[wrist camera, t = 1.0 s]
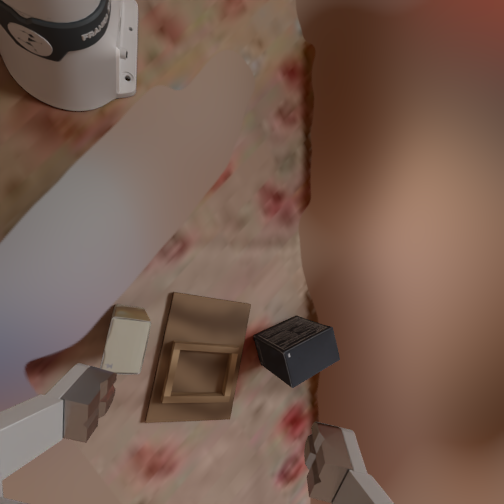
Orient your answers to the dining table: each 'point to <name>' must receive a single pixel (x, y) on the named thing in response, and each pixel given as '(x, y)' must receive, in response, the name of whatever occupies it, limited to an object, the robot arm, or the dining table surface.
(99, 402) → the robot arm
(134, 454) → the dining table surface
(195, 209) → the dining table surface
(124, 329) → the skincare box
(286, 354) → the small box
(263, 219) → the dining table surface
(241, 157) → the dining table surface
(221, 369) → the wooden board with frame
